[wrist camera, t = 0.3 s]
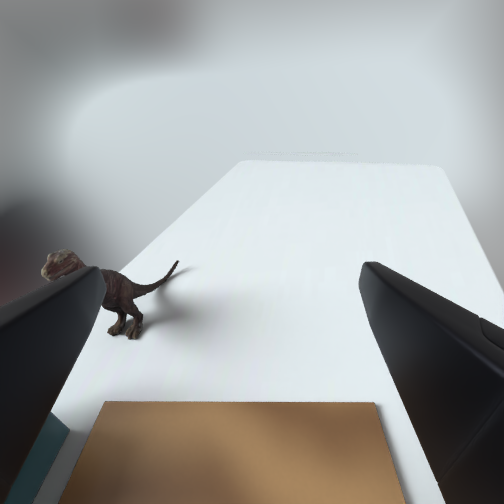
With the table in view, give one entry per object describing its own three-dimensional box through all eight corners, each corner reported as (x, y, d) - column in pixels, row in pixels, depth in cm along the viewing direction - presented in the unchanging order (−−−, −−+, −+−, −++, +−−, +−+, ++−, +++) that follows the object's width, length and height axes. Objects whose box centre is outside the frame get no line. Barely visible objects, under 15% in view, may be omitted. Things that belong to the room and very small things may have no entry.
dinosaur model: (23, 261, 20) (142, 189, 32) (79, 360, 27) (161, 269, 39) (67, 269, 19) (173, 192, 31) (114, 370, 26) (187, 274, 38)
